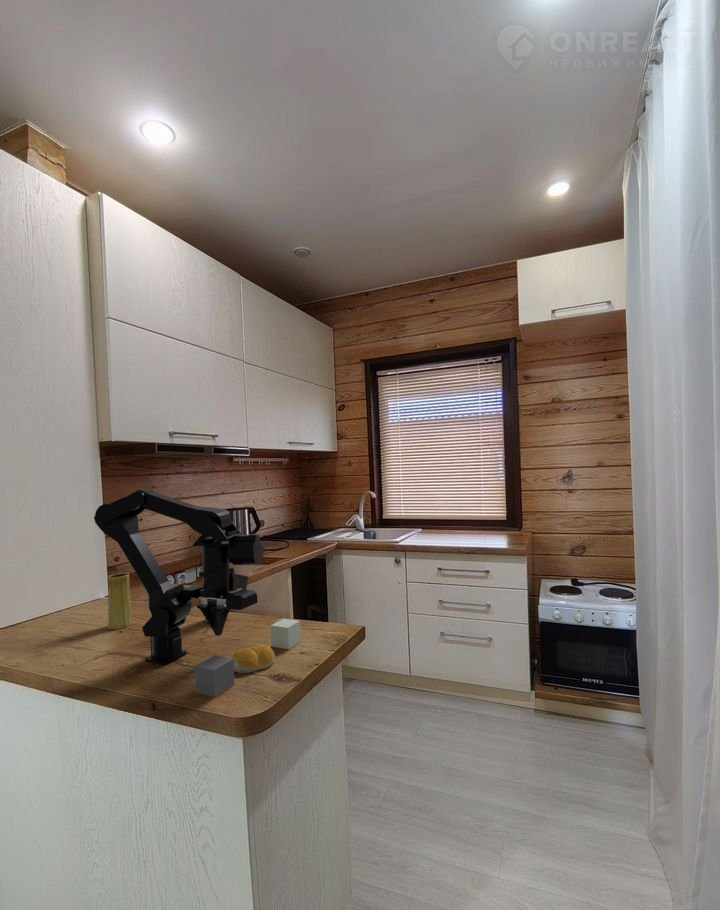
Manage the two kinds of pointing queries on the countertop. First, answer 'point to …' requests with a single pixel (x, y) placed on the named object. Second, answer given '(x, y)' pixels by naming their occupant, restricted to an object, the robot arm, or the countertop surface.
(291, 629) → the sage block
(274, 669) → the countertop surface
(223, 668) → the charcoal block
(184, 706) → the countertop surface
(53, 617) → the countertop surface
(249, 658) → the bread roll
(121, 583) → the vase
